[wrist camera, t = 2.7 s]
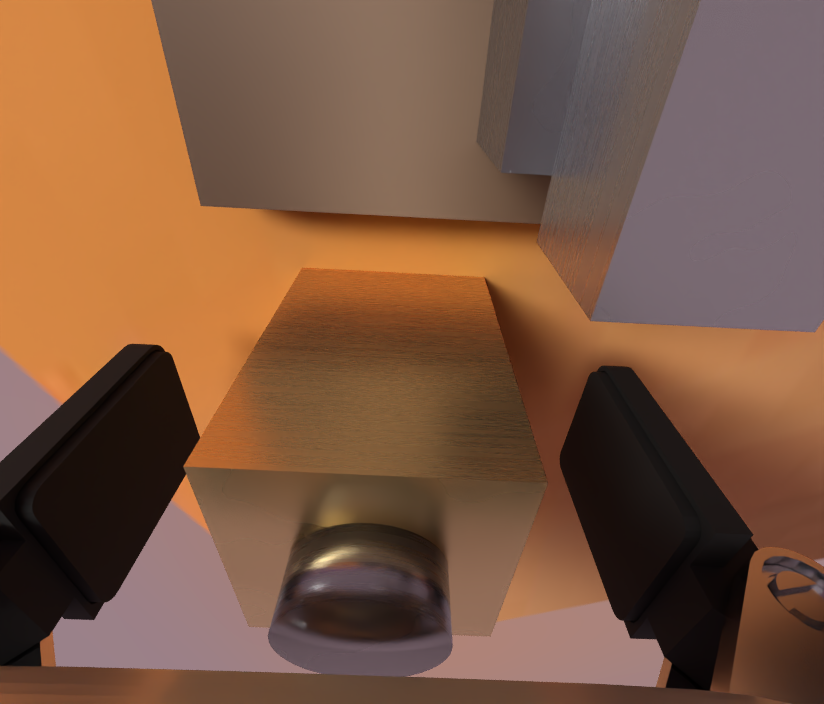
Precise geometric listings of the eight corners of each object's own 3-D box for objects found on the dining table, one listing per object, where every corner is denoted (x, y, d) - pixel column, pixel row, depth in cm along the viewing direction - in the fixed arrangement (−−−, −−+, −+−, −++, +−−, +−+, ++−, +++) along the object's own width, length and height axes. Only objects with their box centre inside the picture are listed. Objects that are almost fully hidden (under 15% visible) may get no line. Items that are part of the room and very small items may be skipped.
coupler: (484, 277, 10) (573, 565, 4) (462, 410, 12) (499, 706, 7) (302, 267, 10) (134, 546, 4) (317, 403, 12) (227, 696, 7)
